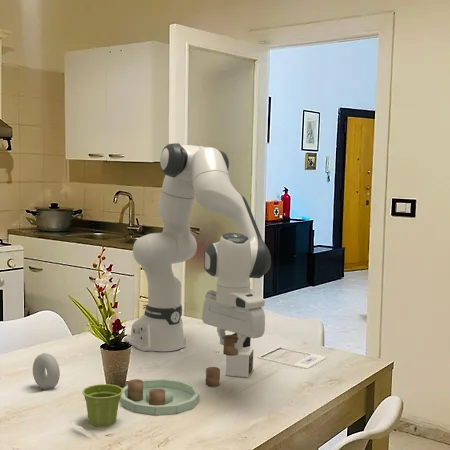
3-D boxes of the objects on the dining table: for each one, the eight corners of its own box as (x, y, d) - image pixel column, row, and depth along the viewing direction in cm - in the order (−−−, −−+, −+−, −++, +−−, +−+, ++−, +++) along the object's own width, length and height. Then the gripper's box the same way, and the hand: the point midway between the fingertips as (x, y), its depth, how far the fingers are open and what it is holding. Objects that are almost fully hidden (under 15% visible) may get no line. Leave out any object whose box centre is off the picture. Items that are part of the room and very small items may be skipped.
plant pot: (84, 418, 159) (85, 383, 158) (123, 418, 160) (124, 383, 159) (79, 434, 149) (79, 397, 149) (120, 434, 150) (121, 397, 149)
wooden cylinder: (202, 384, 185) (203, 368, 185) (212, 380, 188) (213, 365, 188) (212, 387, 183) (212, 372, 182) (222, 384, 185) (222, 369, 185)
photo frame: (307, 367, 201) (257, 356, 211) (307, 371, 201) (257, 359, 211) (327, 356, 213) (278, 346, 223) (327, 359, 213) (278, 349, 223)
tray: (105, 402, 169) (105, 390, 169) (164, 385, 183) (165, 374, 183) (153, 426, 155) (153, 413, 155) (213, 405, 169) (214, 393, 169)
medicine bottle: (248, 377, 192) (250, 338, 190) (225, 375, 193) (226, 336, 192) (252, 370, 199) (254, 332, 197) (229, 368, 200) (231, 330, 199)
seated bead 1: (124, 398, 169) (124, 381, 169) (136, 394, 172) (137, 378, 171) (133, 402, 166) (133, 385, 166) (146, 399, 169) (146, 382, 169)
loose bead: (220, 353, 172) (220, 336, 172) (230, 350, 175) (231, 333, 174) (230, 356, 169) (231, 339, 169) (241, 353, 172) (242, 337, 172)
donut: (62, 392, 175) (62, 356, 174) (51, 395, 173) (51, 359, 172) (40, 383, 182) (40, 348, 181) (29, 386, 179) (29, 351, 178)
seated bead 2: (145, 408, 163) (145, 391, 162) (158, 404, 166) (158, 387, 165) (155, 413, 160) (156, 395, 159) (168, 409, 163) (168, 391, 162)
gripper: (197, 290, 176) (196, 340, 177) (252, 304, 161) (250, 358, 163) (214, 287, 180) (212, 336, 181) (269, 301, 166) (267, 353, 167)
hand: (231, 347), depth 172 cm, fingers closed on loose bead, 4 cm apart
